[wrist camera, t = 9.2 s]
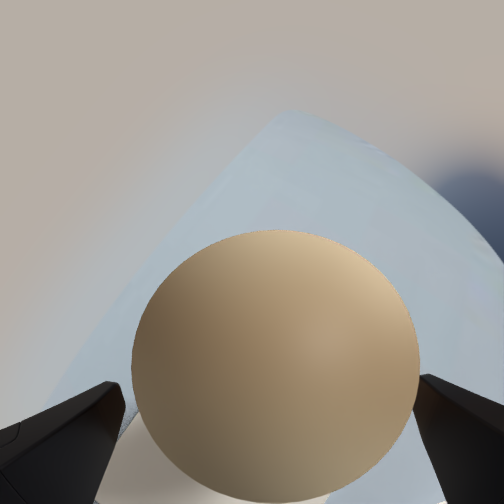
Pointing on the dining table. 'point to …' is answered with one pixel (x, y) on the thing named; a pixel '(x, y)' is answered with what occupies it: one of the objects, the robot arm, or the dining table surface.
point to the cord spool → (275, 366)
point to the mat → (155, 476)
